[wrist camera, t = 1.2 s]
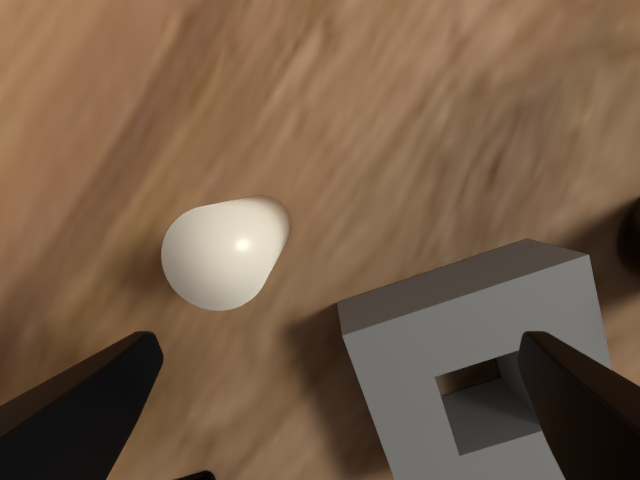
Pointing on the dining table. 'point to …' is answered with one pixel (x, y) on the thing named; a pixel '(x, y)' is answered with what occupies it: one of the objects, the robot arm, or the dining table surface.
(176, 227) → the peg
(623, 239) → the supplement bottle
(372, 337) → the socket block
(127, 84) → the dining table surface
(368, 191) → the dining table surface
